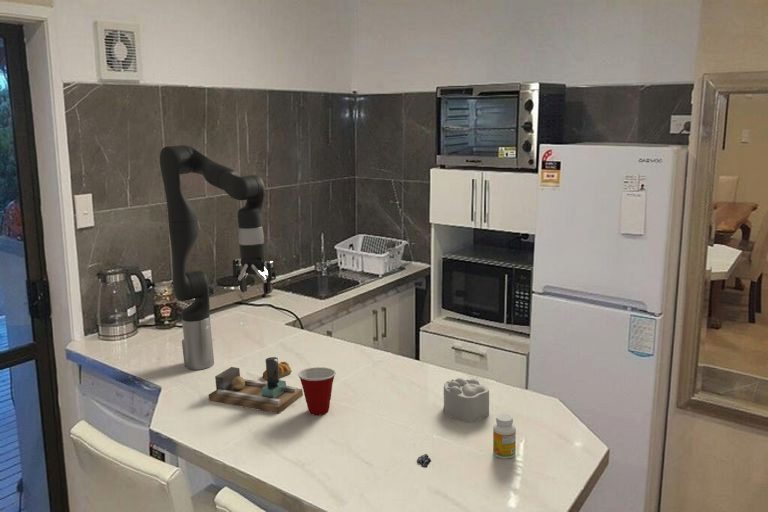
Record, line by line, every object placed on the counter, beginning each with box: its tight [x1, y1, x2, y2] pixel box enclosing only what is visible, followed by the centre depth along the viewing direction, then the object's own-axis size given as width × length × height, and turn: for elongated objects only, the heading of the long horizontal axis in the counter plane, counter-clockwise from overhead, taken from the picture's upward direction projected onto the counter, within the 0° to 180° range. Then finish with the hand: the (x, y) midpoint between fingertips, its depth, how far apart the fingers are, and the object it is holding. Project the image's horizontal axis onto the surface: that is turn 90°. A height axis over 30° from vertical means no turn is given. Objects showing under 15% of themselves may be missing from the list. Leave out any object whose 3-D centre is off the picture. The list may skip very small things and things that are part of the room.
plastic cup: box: [297, 366, 337, 416], centre depth 181 cm, size 11×11×12 cm
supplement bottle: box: [492, 413, 517, 460], centre depth 155 cm, size 5×5×10 cm
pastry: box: [262, 361, 292, 380], centre depth 209 cm, size 9×7×4 cm
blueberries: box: [416, 453, 432, 468], centre depth 154 cm, size 7×8×2 cm
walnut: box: [232, 375, 245, 390], centre depth 194 cm, size 4×4×4 cm
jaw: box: [261, 356, 287, 399], centre depth 188 cm, size 4×7×11 cm, turn 156°
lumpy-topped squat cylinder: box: [443, 377, 490, 423], centre depth 179 cm, size 10×13×9 cm
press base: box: [208, 366, 304, 414], centre depth 192 cm, size 25×13×7 cm, turn 66°
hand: (255, 292), depth 197 cm, fingers open, 8 cm apart
